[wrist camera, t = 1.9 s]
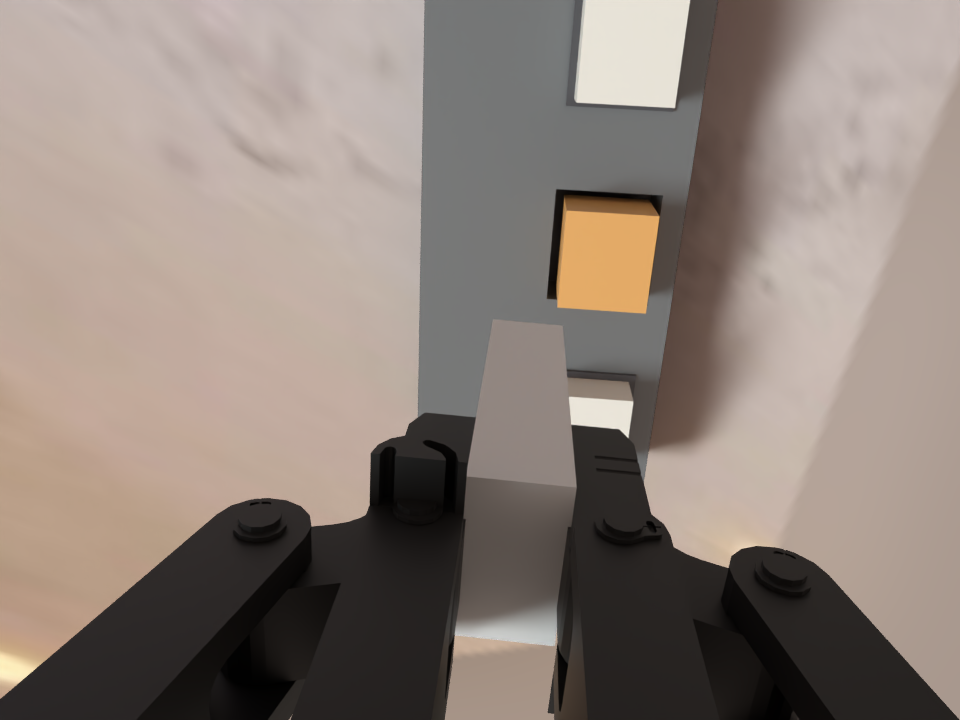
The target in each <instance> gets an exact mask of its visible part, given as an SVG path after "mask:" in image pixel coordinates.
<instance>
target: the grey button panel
mask: <svg viewBox="0 0 960 720" xmlns="http://www.w3.org/2000/svg"><path fill="white" fill-rule="evenodd" d="M717 4H718V0H425V11H424V72H423V134H422V195H421V256H420V318H419V379H418V417H419V416H421V415H422V414H423V413H425V412H426V413H436V414H447V415H457V416H467V417H476V415H477V409H478V403H479V398H480V392H481V386H482V380H483V374H484V369H485V363H486V357H487V351H488V345H489V340H490V334H491V328H492V322H493V319H496V320H507V321H518V322H529V323H540V324H551V325H561V326H563V334H564V346H565V358H566V369H567V381H568V392H569V404H570V416H571V425H581V426H591V427H601V428H611V429H620V430H621V431H622V432H623V433H624V434H625V435H626V436H627V437H628V438H629V439H630V440H631V441H632V442H633V443H634V446H635V450H636V454H637V458H638V463H639V466H640V470H641V476H642V479H643V483H644V477H645V471H646V464H647V458H648V451H649V445H650V438H651V432H652V426H653V419H654V413H655V406H656V400H657V393H658V387H659V380H660V374H661V367H662V361H663V354H664V348H665V341H666V335H667V328H668V322H669V315H670V309H671V302H672V296H673V289H674V283H675V276H676V270H677V263H678V257H679V250H680V244H681V237H682V231H683V225H684V218H685V212H686V205H687V199H688V192H689V186H690V179H691V173H692V166H693V160H694V153H695V147H696V140H697V134H698V127H699V121H700V114H701V108H702V101H703V95H704V88H705V82H706V75H707V69H708V62H709V56H710V49H711V43H712V37H713V30H714V24H715V17H716V11H717ZM564 195H579V196H595V197H612V198H628V199H644V200H649V201H650V202H651V204H652V205H653V207H654V208H655V210H656V212H657V213H658V215H659V216H660V217H659V224H658V231H657V238H656V246H655V253H654V260H653V267H652V274H651V281H650V288H649V295H648V302H647V309H646V314H644V313H630V312H615V311H600V310H586V309H571V308H557V291H556V280H557V269H558V257H559V246H560V235H561V224H562V213H563V202H564Z"/></svg>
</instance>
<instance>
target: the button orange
mask: <svg viewBox="0 0 960 720" xmlns="http://www.w3.org/2000/svg"><path fill="white" fill-rule="evenodd" d="M659 217H660V216H659V215H658V213H657V212H656V210H655V208H654V207H653V205H652V204H651V202H650V201H649V200H644V199H628V198H612V197H595V196H579V195H564V202H563V213H562V224H561V235H560V246H559V257H558V269H557V280H556V291H557V308H571V309H586V310H600V311H615V312H630V313H644V314H646V309H647V302H648V295H649V288H650V281H651V274H652V267H653V260H654V253H655V246H656V238H657V231H658V224H659Z"/></svg>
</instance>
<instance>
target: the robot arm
mask: <svg viewBox="0 0 960 720" xmlns="http://www.w3.org/2000/svg"><path fill="white" fill-rule="evenodd" d="M556 632H557V638H558V644H557V651H556V658H555V665H554V673H553V679H552V687H551V694H550V700H549V708H548V713H552V714H554V720H959V719H958V718H957V717H956V715H955V714H954V713H953V712H952V711H951V710H950V709H949V708H948V707H947V706H946V704H945V703H944V702H943V701H942V700H941V699H940V698H939V697H938V696H937V694H936V693H935V692H934V691H933V690H932V689H931V688H930V687H929V686H928V684H927V683H926V682H925V681H924V680H923V679H922V678H921V677H920V676H919V674H918V673H917V672H916V671H915V670H914V669H913V668H912V667H911V666H910V665H909V663H908V662H907V661H906V660H905V659H904V658H903V657H902V656H901V655H900V653H898V651H897V650H896V649H895V648H894V647H893V646H892V645H891V643H890V642H889V641H888V640H887V639H886V638H885V637H884V636H883V635H882V634H881V633H880V631H879V630H878V629H877V628H876V627H875V626H874V625H873V624H872V622H871V621H870V620H869V619H868V618H867V617H866V616H865V615H864V614H863V613H862V612H861V610H860V609H859V608H858V607H857V606H856V605H855V604H854V603H853V601H852V600H851V599H850V598H849V597H848V596H847V595H846V594H845V593H844V591H843V590H842V589H841V588H840V587H839V586H838V585H837V584H836V583H835V582H834V580H833V579H832V578H831V577H830V576H829V575H828V574H827V573H826V572H824V571H823V570H822V569H821V568H819V567H818V566H817V565H816V564H815V563H813V562H811V561H809V560H807V559H805V558H804V557H802V556H799V555H798V554H796V553H793V552H790V551H788V550H786V551H785V550H783V549H780V548H775V547H761V546H755V547H750V548H744V549H741V550H739V551H738V552H737V553H735V554H734V555H733V556H731V560H730V565H729V568H726V567H722V566H719V565H716V564H713V563H709V562H706V561H703V560H700V559H697V558H695V557H692V556H689V555H687V554H685V553H683V552H681V551H680V550H678V549H676V548H674V547H673V543H672V540H671V536H670V534H669V532H668V530H667V529H666V527H665V525H664V524H663V523H662V522H660V521H659V520H658V519H656V518H655V517H654V516H653V515H651V512H650V507H649V503H648V499H647V495H646V491H645V487H644V483H643V479H642V476H641V470H640V466H639V463H638V458H637V454H636V450H635V446H634V443H633V442H632V441H631V440H630V439H629V438H628V437H627V436H626V435H625V434H624V433H623V432H622V431H621V430H620V429H611V428H601V427H591V426H581V425H571V416H570V404H569V392H568V381H567V369H566V358H565V346H564V334H563V326H561V325H551V324H540V323H529V322H518V321H507V320H496V319H493V322H492V328H491V334H490V340H489V345H488V351H487V357H486V363H485V369H484V374H483V380H482V386H481V392H480V398H479V403H478V409H477V415H476V417H467V416H457V415H447V414H436V413H426V412H425V413H423V414H422V415H421V416H419V417H418V418H417V419H415V420H414V421H413V422H411V423H410V424H409V426H408V429H407V432H406V435H405V436H401V437H396V438H391V439H389V440H387V441H385V442H383V443H381V444H379V445H377V447H376V448H375V449H374V450H373V451H372V453H371V472H370V506H369V509H368V511H367V514H366V515H365V516H363V517H361V518H359V519H356V520H353V521H350V522H346V523H340V524H334V525H324V526H314V527H311V521H310V515H309V514H308V513H307V512H306V511H305V510H304V509H303V508H302V507H301V506H299V505H296V504H294V503H291V502H289V501H286V500H279V499H271V498H262V499H253V500H248V501H245V502H241V503H238V504H235V505H232V506H230V507H228V508H227V509H225V510H223V511H222V512H220V513H218V514H217V515H216V516H215V517H213V518H212V519H211V520H210V521H209V522H207V523H206V524H205V525H204V526H203V527H202V528H200V529H199V530H198V531H197V532H196V533H195V534H193V535H192V536H191V537H190V538H189V539H188V540H186V541H185V542H184V543H183V544H182V545H181V546H179V547H178V548H177V549H176V550H175V551H173V552H172V553H171V554H170V555H169V556H168V557H166V558H165V559H164V560H163V561H162V562H161V563H159V564H158V565H157V566H156V567H155V568H154V569H152V570H151V571H150V572H149V573H148V574H147V575H145V576H144V577H143V578H142V579H141V580H139V581H138V582H137V583H136V584H135V585H134V586H132V587H131V588H130V589H129V590H128V591H127V592H125V593H124V594H123V595H122V596H121V597H120V598H118V599H117V600H116V601H115V602H114V603H113V604H111V605H110V606H109V607H108V608H107V609H105V610H104V611H103V612H102V613H101V614H100V615H98V616H97V617H96V618H95V619H94V620H93V621H91V622H90V623H89V624H88V625H87V626H86V627H84V628H83V629H82V630H81V631H80V632H79V633H77V634H76V635H75V636H74V637H73V638H71V639H70V640H69V641H68V642H67V643H66V644H64V645H63V646H62V647H61V648H60V649H59V650H57V651H56V652H55V653H54V654H53V655H52V656H50V657H49V658H48V659H47V660H46V661H45V662H43V663H42V664H41V665H40V666H39V667H37V668H36V669H35V670H34V671H33V672H32V673H30V674H29V675H28V676H27V677H26V678H25V679H23V680H22V681H21V682H20V683H19V684H18V685H16V686H15V687H14V688H13V689H12V690H11V691H9V692H8V693H7V694H6V695H5V696H3V697H2V698H1V699H0V720H289V719H290V717H291V716H292V718H291V720H445V713H446V705H447V698H448V690H449V684H450V676H451V668H452V662H453V649H454V636H455V635H457V636H466V637H475V638H484V639H494V640H503V641H512V642H521V643H530V644H540V645H549V646H555V639H556ZM292 714H293V715H292Z"/></svg>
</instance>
